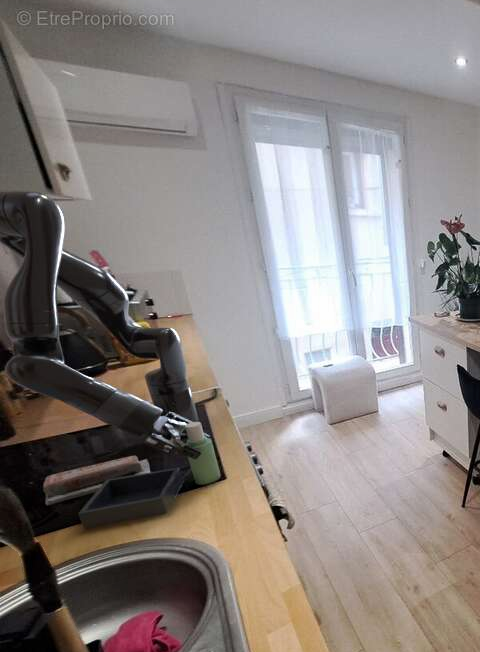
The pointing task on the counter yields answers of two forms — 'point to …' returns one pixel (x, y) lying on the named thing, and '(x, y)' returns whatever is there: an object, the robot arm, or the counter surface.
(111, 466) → the packaged product
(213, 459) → the bottle
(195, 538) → the counter surface
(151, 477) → the tray
